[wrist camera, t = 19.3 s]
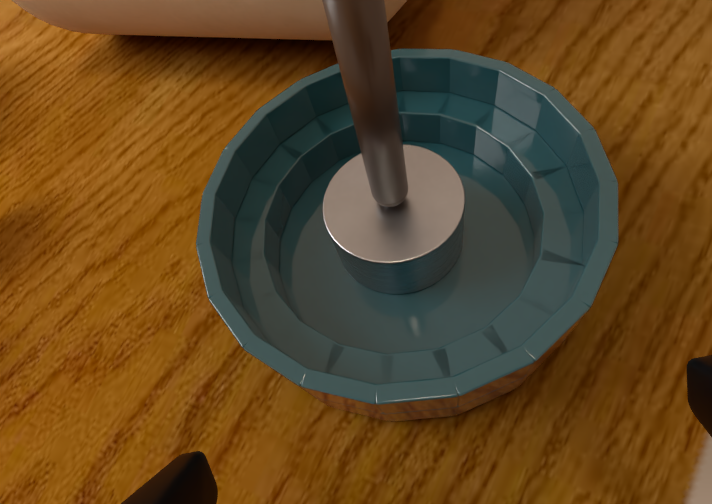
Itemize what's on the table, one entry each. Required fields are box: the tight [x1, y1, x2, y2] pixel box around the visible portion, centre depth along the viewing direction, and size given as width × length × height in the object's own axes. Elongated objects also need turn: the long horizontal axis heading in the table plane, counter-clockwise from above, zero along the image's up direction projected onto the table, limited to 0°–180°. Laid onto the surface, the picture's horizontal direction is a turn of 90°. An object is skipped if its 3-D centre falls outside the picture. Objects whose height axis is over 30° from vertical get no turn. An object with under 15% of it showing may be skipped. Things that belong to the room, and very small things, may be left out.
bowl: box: [196, 49, 618, 422], centre depth 18 cm, size 15×15×4 cm
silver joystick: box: [322, 0, 465, 294], centre depth 14 cm, size 6×6×13 cm
